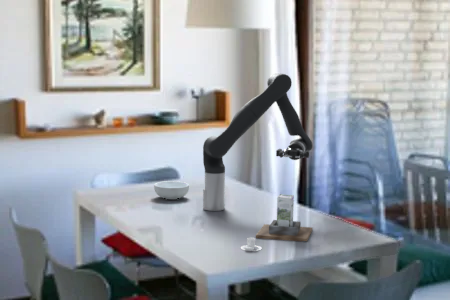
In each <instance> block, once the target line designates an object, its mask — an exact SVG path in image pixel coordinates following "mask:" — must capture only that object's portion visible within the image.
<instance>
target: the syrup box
mask: <svg viewBox="0 0 450 300" xmlns="http://www.w3.org/2000/svg"><path fill="white" fill-rule="evenodd" d="M276 199H277V203H276V205H277V206H276V220H277V226H286V227H293V221H294V205H295V204H294V203H295V200H294V199H295V196H294V195H293V194H282V193H281V194H279V195H277V198H276Z"/></svg>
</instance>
